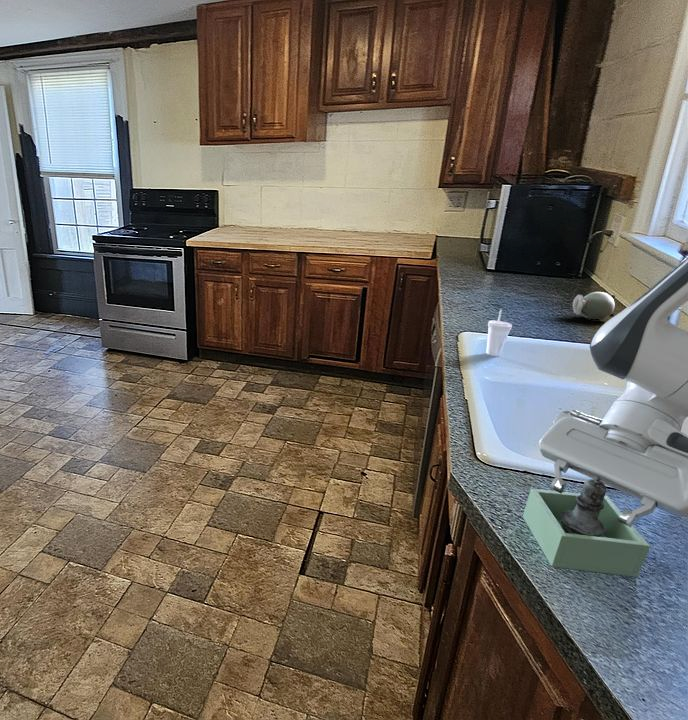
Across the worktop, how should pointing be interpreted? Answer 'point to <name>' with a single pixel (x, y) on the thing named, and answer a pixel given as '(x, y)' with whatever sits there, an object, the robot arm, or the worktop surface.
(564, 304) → the worktop surface
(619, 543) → the bin
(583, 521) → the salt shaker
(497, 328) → the smoothie
